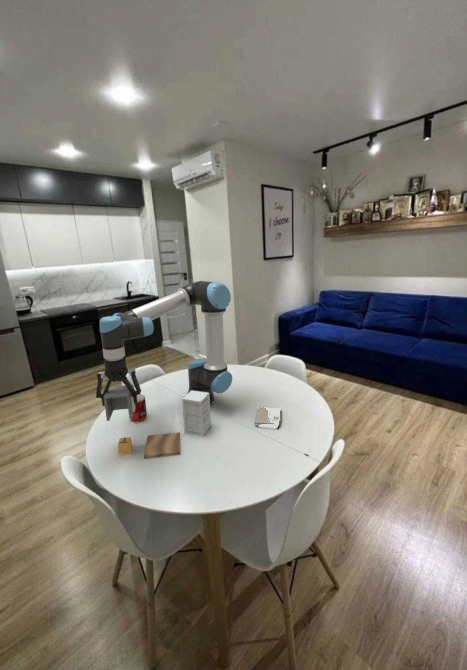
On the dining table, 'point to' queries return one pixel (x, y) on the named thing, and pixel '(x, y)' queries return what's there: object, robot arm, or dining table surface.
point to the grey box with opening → (117, 400)
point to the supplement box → (196, 412)
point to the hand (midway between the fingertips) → (121, 411)
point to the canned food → (140, 409)
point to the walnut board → (162, 445)
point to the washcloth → (263, 417)
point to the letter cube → (125, 445)
